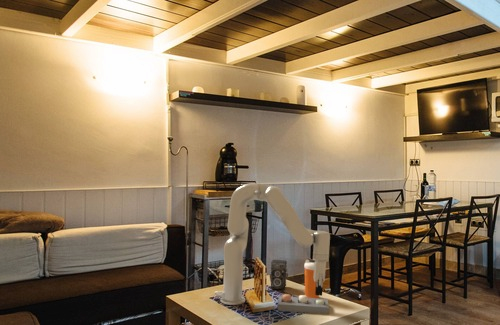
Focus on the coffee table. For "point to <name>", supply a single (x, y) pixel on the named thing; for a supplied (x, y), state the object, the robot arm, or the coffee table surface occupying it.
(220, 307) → the coffee table surface
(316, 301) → the button sage
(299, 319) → the coffee table surface
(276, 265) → the camera
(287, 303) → the panel
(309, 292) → the shaker bottle
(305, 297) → the button cream
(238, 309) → the coffee table surface
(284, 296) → the button rust
